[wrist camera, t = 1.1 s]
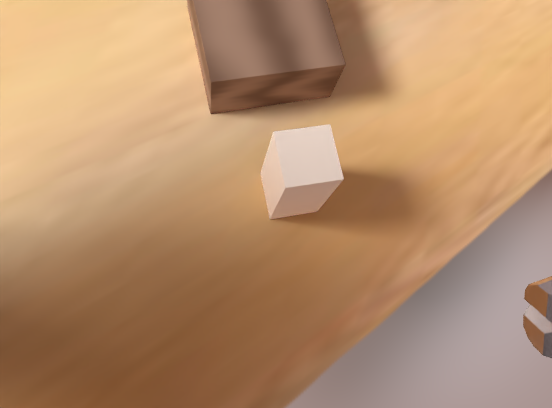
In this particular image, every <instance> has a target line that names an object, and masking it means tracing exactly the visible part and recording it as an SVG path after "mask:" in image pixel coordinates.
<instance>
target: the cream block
mask: <svg viewBox="0 0 552 408" xmlns="http://www.w3.org/2000/svg"><path fill="white" fill-rule="evenodd" d="M260 174H261V179H262V184H263V189H264V193H265V198H266V203H267V208H268V213H269V218H270V219H275V218H281V217H287V216H294V215H300V214H306V213H312V212H317V211H318V210H319V209H320V208H321V206H322V205H323V204H324V203H325V202H326V200H327V199H328V198H329V197H330V195H331V194H332V193H333V192H334V191H335V189H336V188H337V187H338V186H339V185H340V183H341V182H342V181H343V180H344V178H343V174H342V170H341V166H340V162H339V158H338V154H337V150H336V146H335V142H334V138H333V134H332V130H331V126H330V125H322V126H314V127H306V128H298V129H290V130H283V131H275V132H273V134H272V137H271V140H270V144H269V147H268V150H267V153H266V157H265V160H264V163H263V166H262V169H261V173H260Z"/></svg>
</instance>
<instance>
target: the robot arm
mask: <svg viewBox="0 0 552 408" xmlns="http://www.w3.org/2000/svg"><path fill="white" fill-rule="evenodd" d="M524 299H525V300H526V301H527V302H528V303H529V304H530V305H529V307H528V308H527V310H526V312H525V313H524V317H523V318H524V320H523V321H524V322H523V325H524V329H525V331H526V334H527V336H528V338H529V340H530V341H531V342H532V344H533V346H534V347H535V348H536V349H537V350H538V351H539V352H540V353H541V354H542V355H544V356H547V357H550V358H552V276H551V277H548V278H546V279H543V280H540V281H537V282H534V283H531V284H529V285H528V286H527V288H526V290H525V298H524Z"/></svg>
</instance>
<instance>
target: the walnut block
mask: <svg viewBox="0 0 552 408" xmlns="http://www.w3.org/2000/svg"><path fill="white" fill-rule="evenodd" d="M187 2H188V11H189V16H190V20H191V25H192V30H193V34H194V39H195V44H196V48H197V53H198V58H199V62H200V67H201V71H202V76H203V81H204V85H205V90H206V95H207V99H208V104H209V109H210V113H211V114H214V113H221V112H228V111H235V110H241V109H248V108H255V107H262V106H269V105H276V104H283V103H289V102H296V101H303V100H310V99H317V98H324V97H330V95H331V93H332V91H333V89H334V87H335V85H336V83H337V81H338V79H339V77H340V75H341V73H342V71H343V69H344V66H345V61H344V58H343V54H342V51H341V48H340V44H339V41H338V38H337V35H336V31H335V28H334V25H333V21H332V18H331V15H330V11H329V8H328V5H327V2H326V0H187Z"/></svg>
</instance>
